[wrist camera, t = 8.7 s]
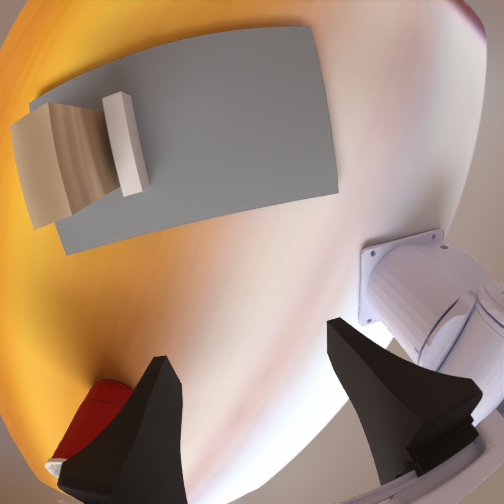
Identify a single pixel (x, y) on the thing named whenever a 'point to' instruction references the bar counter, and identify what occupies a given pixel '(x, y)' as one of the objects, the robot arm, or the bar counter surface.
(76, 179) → the wooden block
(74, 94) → the clip board
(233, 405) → the bar counter surface
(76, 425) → the plastic cup
